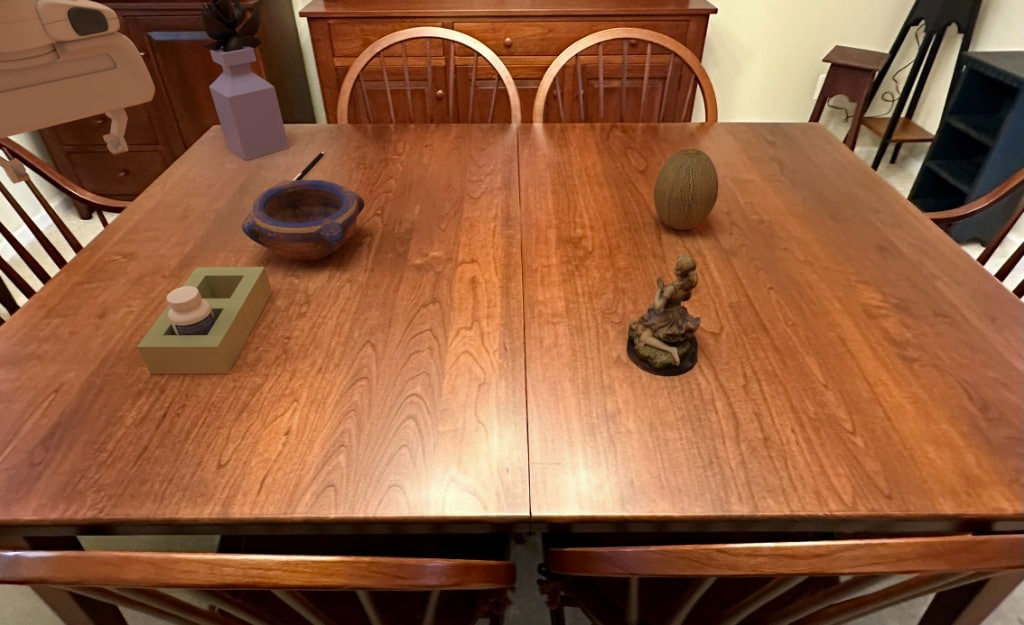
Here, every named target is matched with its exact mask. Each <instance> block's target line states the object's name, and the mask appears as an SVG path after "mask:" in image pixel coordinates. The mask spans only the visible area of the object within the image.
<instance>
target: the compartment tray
mask: <svg viewBox="0 0 1024 625" xmlns="http://www.w3.org/2000/svg"><path fill="white" fill-rule="evenodd" d="M185 286H192V287H196V288H197V289H198V291H199V293H200V295H201V298H202V299H204V300H206V301H207V302H208V303H209V304H210V306H211V308H212V311H213V313H214V316H215V319H216V322H215V323H214V325H213V327H212V328H211V330H210V331H209V333H208V335H176V334H175V331H174V329H173V327H172V325H171V322H170V321H169V318H168V312H169V310H170V307H169V304H167V306H166V307H165V308H164V310H163V311H162V312H161V314H160V315H159V317H158V318H157V319H156V321H155V322H154V323H153V325H152V326H151V327H150V328H149V330H148V331H147V332H146V334H145V335H144V336H143V338H142V339H141V341H140V342H139V343H138V344H137V346H136V349H137V350H138V353H139V354H140V356H141V358H142V361H143V362H144V364H145V367H146V368H147V369H148V372H149V373H150V375H229V374H230V372H231V370H232V369H233V367H234V365H235V363H236V361H237V359H238V358H239V356H240V354H241V351H242V349H243V348H244V346H245V344H246V343H247V341H248V339H249V337H250V335H251V333H252V331H253V329H254V328H255V325H256V323H257V322H258V320H259V318H260V316H261V314H262V313H263V311H264V309H265V307H266V305H267V304H268V301H269V299H270V297H271V296H272V294H273V290H272V287H271V284H270V280H269V277H268V274H267V270H266V267H265V266H196V267H195V268H194V269H193V271H192V272H191V274H190V275H189V276H188V278H186V280H185V282H184V283H183V284H182V286H181V287H185Z"/></svg>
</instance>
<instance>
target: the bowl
mask: <svg viewBox="0 0 1024 625" xmlns="http://www.w3.org/2000/svg"><path fill="white" fill-rule="evenodd" d="M292 180H293V179H292ZM292 180H283V181H281V182H277V183H276V184H275V185H273V186H271V187H270V188H267V189H266V190H264V191H262V192H260V193H259V195H257V196H256V197H255V198H253V200H252V201H251V203H250V205H249V209H248V214H247V216H246V218H245V219H244V220H243V222H242V224H241V230H242V232H243V233H244V234H245V235H246V237H248V238H249V239H250V240H251V241H253V242H255V243H257V244H258V245H260V246H262V247H264V248H266V249H268V250H270V251H272V252H274V253H276V254H278V255H280V256H281V257H285V258H288V259H291V260H295V261H301V262H303V261H304V262H305V261H306V262H309V261H310V262H311V261H316V260H320V259H322V258H325V257H327V256H328V255H330V254H332V253H334V252H336V251H337V250H338V249H339V248H341V247H342V246H343V245H345V243H347V241H348V240H349V239H350V238H351V237H352V235H353V234H354V232H355V229H356V227H357V220H358V217H359V215H360V214H361V213H362V211H363V210H364V208H365V206H366V204H365V201H364V199H363V197H361V195H360V194H358V193H357V192H355V191H352V190H351V189H349V188H346V187H345V186H343V185H341V184H339V183H335V182H333V181H328V180H323V179H300V180H293V181H292Z"/></svg>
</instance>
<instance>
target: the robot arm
mask: <svg viewBox="0 0 1024 625" xmlns="http://www.w3.org/2000/svg"><path fill="white" fill-rule="evenodd" d="M120 28H121V24H120V20H119V17H118V15H117V13H116V11H114V9H112V8H110V7H109V6H108V5H105V4H102V3H99V2H96V1H94V0H93V1H92V0H0V140H1V139H5V138H10V137H14V136H16V135H17V136H18V135H21V134H25V133H29V132H33V131H37V130H42V129H45V128H50V127H53V126H57V125H62V124H65V123H70V122H73V121H78V120H83V119H85V118H90V117H93V116H99V115H101V114H105V116H107V118H109V119H111V124H110V130H109V133H107V134H104V135H102V138H103V140H104V142H105V143H106V147H107V149H108V151H109V152H110V153H111V154H113V155H114V156H115V155H119V154H122V153H126V152H128V151H129V147H128V144H127V142H126V139H125V137H124V136H125V134H126V128H127V126H128V125H127V124H128V121H129V120H128V119H129V117H128V115H127V112H126V109H125V108H130V107H134V106H137V105H141V104H145V103H149V102H152V101H153V99H154V96H155V93H156V87H155V84H154V82H153V79H152V76H151V74H150V72H149V70H148V66H147V65H146V63H145V61H144V59H143V57H142V55H141V53H140V51H139V50H138V48H137V46H136V44H134V42H133V41H132V40H131V39H130V38H129V37H127V36H126V35H125V34H123V33H121V32H118V31H119V30H120ZM0 167H1V168H2V169H3V171H4V173H5V174H6V176H7V177H8V179H9V180H10V182H11V183H12V184H13V185H15V184H19V183H21V182H26V181H28V180H30V179H31V176H30V175H29V173H28V172H27V169H26V167H25V165H24V163H23V162H22V161H20V160H19V159H18V158H15V159H11V160H7V159H5V158H4V157H2V156H1V155H0Z"/></svg>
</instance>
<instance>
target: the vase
mask: <svg viewBox="0 0 1024 625" xmlns="http://www.w3.org/2000/svg"><path fill="white" fill-rule="evenodd" d="M200 2H201V7H202V9H203V10H201V11H200V16H201V19H202V23H203V27H204V29H205V33H206V34H207V36H208V37H209V38H210V39H211V40H213V42H211V43H208V44H203V45H201V47H202V48H204V49H206V50H208V51H209V53H210V55H211V59H212V61H213V62H214V63H216V64H218V65H220V66H221V68H222V72H221V73H220V75H218V77H217V78H216V79H215V80H214V81H213V82H212V83H211V84H210V85H209V86H208V88H209V91H210V94H211V98H212V100H213V104H214V107H215V111H216V113H217V118H218V120H219V123H220V127H221V130H222V134H223V137H224V140H225V143H226V147H227V149H228V150H230V151H231V152H232V153H234V154H236V155H237V156H238V157H240V159H243V160H244V161H246V162H248V161H250V160H251V161H252V160H254V159H257V158H261V157H265V156H268V155H271V154H274V153H277V152H278V153H279V152H280V151H284V150H288V149H290V145H289V141H288V137H287V134H286V130H285V125H284V121H283V116H282V113H281V108H280V105H279V99H278V96H277V95H278V94H277V92H276V87H275V86H274V85H273V84H271V83H270V82H269V81H267V80H265V79H264V78H262V77H261V76H260V75H258V74H257V73H255V72H253V70H252V66H251V63H253V62H257V57H256V53H255V50H254V49H256V48H258V47H259V46H261V45H263V43H264V42H263V40H262V39H261V38H258V37H256V35H257V34H258V32H259V30H260V25H261V8H260V6H257V7H256V9H255V11H254V12H253V14H251V16H250V17H249V18H248V19H247V18H246V17H247V11H246V7H245V6H243V7H242V5H241V3H240V1H239V0H233V3H232V0H211V1H209V2H206V4H205V3H204V2H203V1H200ZM246 19H247V20H246ZM239 27H240V28H239ZM238 28H239V29H238ZM237 29H238V30H237Z"/></svg>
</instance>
